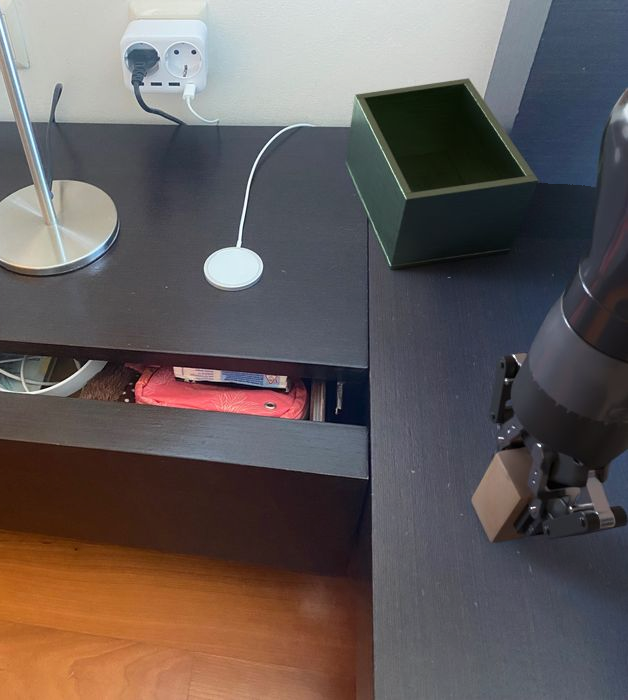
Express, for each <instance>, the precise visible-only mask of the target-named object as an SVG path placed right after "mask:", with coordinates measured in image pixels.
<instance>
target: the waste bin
mask: <svg viewBox="0 0 628 700" xmlns="http://www.w3.org/2000/svg"><path fill="white" fill-rule="evenodd" d="M344 166H345V168H346V170H347V173H348V175H349V178H350V180H351V183H352V185H353V187H354V189H355V192H356V195H357V196H358V199H359V201H360V203H361V205H362V208H363V210H364V212H365V214H366V217H367V219H368V222H369V224H370V226H371V229H372V231H373V233H374V236H375V238H376V240H377V243H378V245H379V248H380V250H381V252H382V254H383V257H384V259H385V261H386V264H387V266H388V268H389V270H390V271H392V270H398V269H405V268H412V267H419V266H428V265H433V264H439V263H448V262H454V261H461V260H468V259H476V258H482V257H489V256H495V255H502V254H509V253H510V251H511V248H512V246H513V243H514V241H515V239H516V237H517V233H518V231H519V228H520V226H521V224H522V221H523V218H524V216H525V215H526V212H527V209H528V207H529V204H530V201H531V199H532V196H533V194H534V191H535V189H536V187H537V184H538V182H539V179H538V177H537V176H536V175H535V173H534V172H533V170H532V169H531V167H530V166H529V164H528V163H527V162H526V160H525V158H524V157H523V156H522V154H521V153H520V151H519V149H518V148H517V147H516V145H515V144H514V143H513V141H512V140H511V138H510V137H509V135H508V133H507V132H506V131H505V129H504V128H503V126H502V125H501V124H500V122H499V121H498V119H497V117H496V116H495V115H494V113H493V112H492V110H491V109H490V107H489V106H488V104H487V103H486V101H485V100H484V98H483V97H482V96H481V93H479V91H478V90H477V88H476V87H475V86H474V83H473V82H472V80H471V79H470V78H461V79H454V80H448V81H447V80H446V81H440V82H433V83H426V84H420V85H419V84H418V85H413V86H405V87H399V88H392V89H387V90H386V89H385V90H378V91H377V90H376V91H371V92H365V93H357V94H354V99H353V106H352V113H351V119H350V127H349V135H348V142H347V150H346V158H345V164H344Z"/></svg>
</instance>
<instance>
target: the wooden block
mask: <svg viewBox="0 0 628 700" xmlns="http://www.w3.org/2000/svg"><path fill="white" fill-rule="evenodd" d="M491 460H492V459H491ZM532 462H533V458H532V457H531V453H530V451H529V450H528V449H527V447H522V448H517V449H511V450H506V451H501V452H498V453H497V454H496V455H495V457H494V458H493V460H492V461H491V462H490V464H489V466H488V467H487V470H486V471H485V473H484V475H483V477H482V479H481V480H480V482H479V484H478V486H477V488H476V489H475V492H474V494H473V495H472V497H471V504H472V506H473V508H474V510H475V513H476V514H477V516H478V519H479V521H480V523H481V525H482V528H483V530H484V532H485V534H486V536H487V538H488V540H489V542H490V543H493V544H498V543H501V542H507V541H512V540H519V539H523V538H527V537H526V536H525V534H517V532H516V530H515V527H514V525H513V524H514V522H515V521H516V519H517V518H518V516H519V515H520V513H521V512H522V510H523V509H524V508H525V506H526V505H527V504H529V500H530V496H531V493H532V491H531V489H530V488H529V486H528V485H527V481H528V477H529V473H530V469H531V465H532ZM552 498H557V497H552ZM550 499H551V498H550Z"/></svg>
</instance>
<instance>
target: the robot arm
mask: <svg viewBox="0 0 628 700" xmlns="http://www.w3.org/2000/svg"><path fill="white" fill-rule="evenodd" d="M600 141H601V142H600V147H599V157H598V167H597V176H596V186H595V187H596V188H595V195H594V200H593V207H592V218H591V219H592V221H591V229H590V239H589V243H588V244H587V246H586V247H585V249H584V251H583V253H582V255H581V256H580V258H579V261H578V263H577V265H576V266H575V268H574V271H573V273H572V275H571V276H570V279H569V280H568V282H567V283H566V286H565V289H564V290H563V292H562V294H561V295H560V296H559V297H558V299H557V300H556V301H555V302H554V304H553V305H552V307H550V309H549V311H548V313H547V314H546V315H545V318H544V319H543V321H542V324H541V325H540V328H539V329H538V331H537V333H536V335H535V337H534V339H533V341H532V344H531V345H530V347H529V349H528V351H527V352H526V351H525V352H523V351H522V352H517V353H510V354H506V355H500V356H498V359H497V363H496V370H495V375H494V381H493V387H492V392H491V393H492V394H491V400H490V405H489V411H488V413H489V419H490V421H491V423H492V424H495V425H496V424H498V426H499V429H500V430H499V431H498V432H497V433H496V437H495V439H496V443H497V446H496V447H495V449H494V450H493V453H492V455H491V462H492V460H493V458H494V457H495V455H496V454H497V453H498V452H501V451H506V450H511V449H517V448H522V447H527V449H528V450H529V451H530V453H531V457H532V458H533V462H532V465H531V469H530V473H529V477H528V481H527V485H528V486H529V488H530V489H531V491H532V493H531V496H530V500H529V504H527V505H526V506H525V508H524V509H523V510H522V512H521V513H520V515H519V516H518V518H517V519H516V521H515V522H514V524H513V525H514V527H515V530H516V532H517V534H525V536H526V537H525V538H530V537H536V536H537V537H538V536H545V537H546V539H548V540H554V539H555V540H556V539H562V538H568V537H577V536H583V535H588V534H594V533H598V532H604V531H607V530H611V529H617V528H621V527H622V528H623V527H625V526H627V525H628V514H627V512H626V510H625V509H624V508H623V507H622V506H621V505H614V506H611V504H610V502H609V501H608V498H607V495H606V492H605V490H604V486H603V484H604V483H605V482H606V481H607V480H608V477H609V474H610V466H611V462H612V461H613V460H615V459H617V458H618V457H619V456H621V455H622V454H624V453H625V452H626V451H628V87H627V88H626V89H625V91H624V92H622V94H621V95H620V97H619V98H618V100H617V101H616V103H615V105H614V106H613V108H612V109H611V112H610V114H609V115H608V117H607V120H606V123H605V126H604V128H603V131H602V135H601V140H600ZM508 401H510V402H511V405H506V404H507V402H508ZM579 495H580V496H579ZM578 496H579V498H578V499H577V497H578ZM552 497H557V498H552ZM550 498H551V499H550Z"/></svg>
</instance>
